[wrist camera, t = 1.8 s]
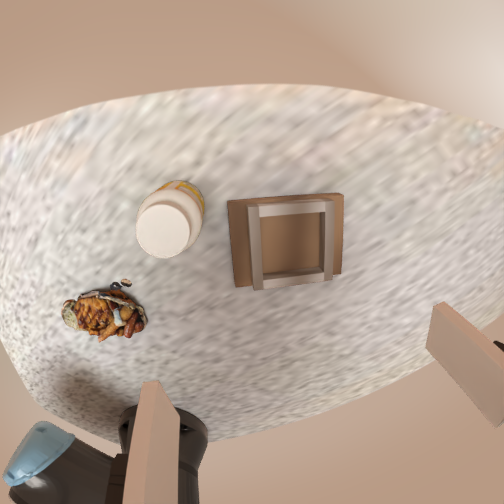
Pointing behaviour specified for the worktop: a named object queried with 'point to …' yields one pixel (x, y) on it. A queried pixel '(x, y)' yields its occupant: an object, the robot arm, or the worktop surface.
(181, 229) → the supplement bottle
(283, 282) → the socket board
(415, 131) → the worktop surface
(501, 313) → the worktop surface
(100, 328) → the brown lumpy food piece
